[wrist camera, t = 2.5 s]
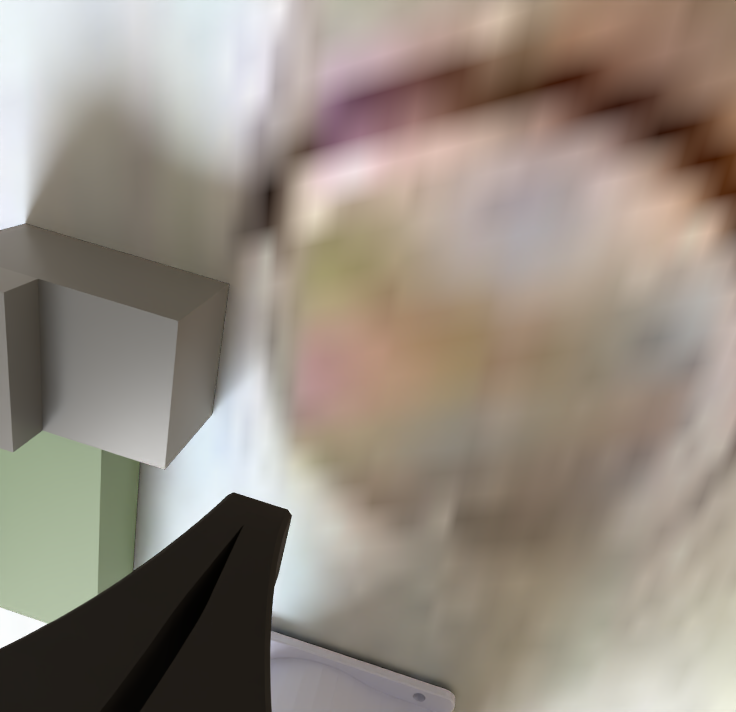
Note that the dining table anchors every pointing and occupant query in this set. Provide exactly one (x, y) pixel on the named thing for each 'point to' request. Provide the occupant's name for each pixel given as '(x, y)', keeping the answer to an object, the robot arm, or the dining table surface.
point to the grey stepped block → (104, 346)
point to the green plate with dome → (64, 524)
